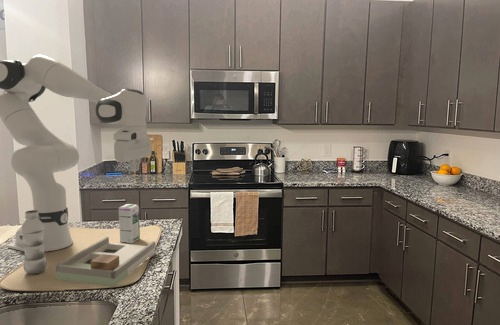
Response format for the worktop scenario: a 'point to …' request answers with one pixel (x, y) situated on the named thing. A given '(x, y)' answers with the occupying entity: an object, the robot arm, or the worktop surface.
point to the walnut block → (105, 262)
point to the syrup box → (129, 223)
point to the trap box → (81, 270)
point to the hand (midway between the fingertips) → (134, 170)
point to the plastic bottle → (33, 243)
